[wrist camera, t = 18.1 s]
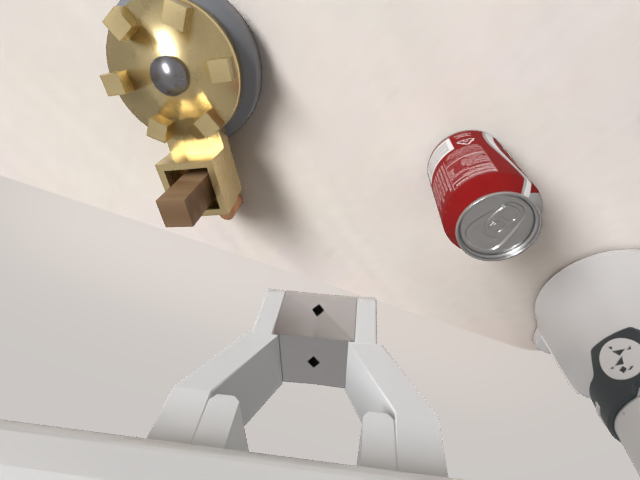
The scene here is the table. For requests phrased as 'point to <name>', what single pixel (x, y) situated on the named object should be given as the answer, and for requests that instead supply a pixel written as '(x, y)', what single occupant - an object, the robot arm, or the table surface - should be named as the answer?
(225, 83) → the rotary feeder
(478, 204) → the soda can
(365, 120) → the table surface
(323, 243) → the table surface
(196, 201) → the brown wooden peg
